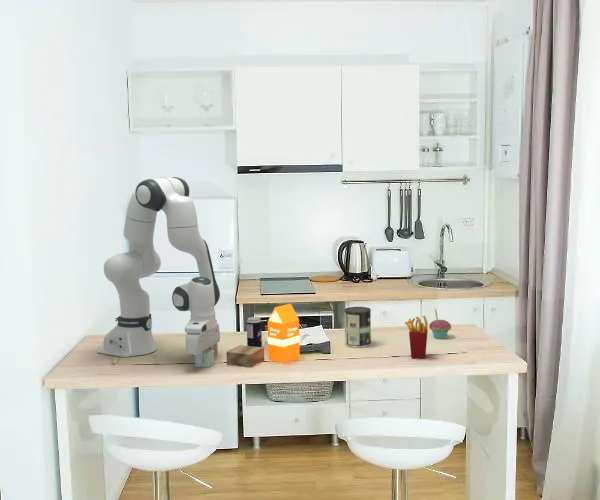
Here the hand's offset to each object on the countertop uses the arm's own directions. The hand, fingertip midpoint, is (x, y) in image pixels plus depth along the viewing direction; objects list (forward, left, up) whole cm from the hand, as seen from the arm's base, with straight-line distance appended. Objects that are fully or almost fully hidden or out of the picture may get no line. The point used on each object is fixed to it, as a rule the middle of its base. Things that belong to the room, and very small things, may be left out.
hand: (204, 360), depth 275 cm
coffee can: (+46, +41, -2) cm, 62 cm away
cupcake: (+75, +60, -2) cm, 96 cm away
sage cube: (0, 0, -2) cm, 2 cm away
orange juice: (+25, +15, -2) cm, 29 cm away
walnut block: (+13, +7, -2) cm, 15 cm away
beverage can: (+9, +25, -2) cm, 27 cm away
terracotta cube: (-4, +13, -2) cm, 14 cm away
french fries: (+71, +31, -2) cm, 77 cm away
